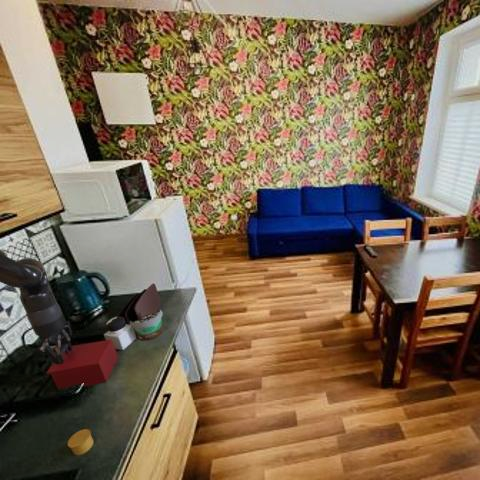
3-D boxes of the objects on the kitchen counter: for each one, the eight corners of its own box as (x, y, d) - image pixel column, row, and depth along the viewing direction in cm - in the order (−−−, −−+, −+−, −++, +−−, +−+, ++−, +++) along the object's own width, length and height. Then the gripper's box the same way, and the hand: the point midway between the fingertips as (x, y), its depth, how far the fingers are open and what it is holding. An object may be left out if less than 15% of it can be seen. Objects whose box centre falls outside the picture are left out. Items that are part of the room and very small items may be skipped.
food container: (139, 347, 110) (133, 328, 106) (134, 339, 114) (128, 321, 110) (170, 332, 118) (166, 313, 115) (165, 325, 122) (160, 307, 118)
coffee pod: (69, 458, 73) (64, 450, 71) (77, 440, 77) (73, 432, 76) (90, 453, 74) (85, 444, 73) (97, 435, 79) (93, 426, 77)
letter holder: (161, 304, 137) (155, 280, 131) (143, 331, 119) (135, 305, 113) (140, 305, 135) (133, 282, 130) (119, 333, 117) (109, 307, 112)
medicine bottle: (137, 338, 115) (130, 315, 110) (123, 350, 108) (114, 327, 104) (123, 335, 116) (115, 313, 111) (108, 348, 109) (99, 324, 105)
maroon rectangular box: (59, 392, 91) (50, 374, 88) (76, 365, 101) (69, 349, 98) (106, 381, 95) (99, 364, 92) (118, 357, 105) (112, 341, 102)
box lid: (47, 374, 88) (41, 363, 86) (66, 348, 98) (61, 338, 96) (99, 364, 92) (95, 353, 90) (112, 341, 102) (108, 330, 100)
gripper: (45, 306, 91) (62, 344, 98) (16, 334, 79) (38, 376, 85) (71, 302, 94) (87, 340, 100) (47, 329, 81) (66, 370, 88)
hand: (64, 356), depth 93 cm, fingers closed on box lid, 5 cm apart
